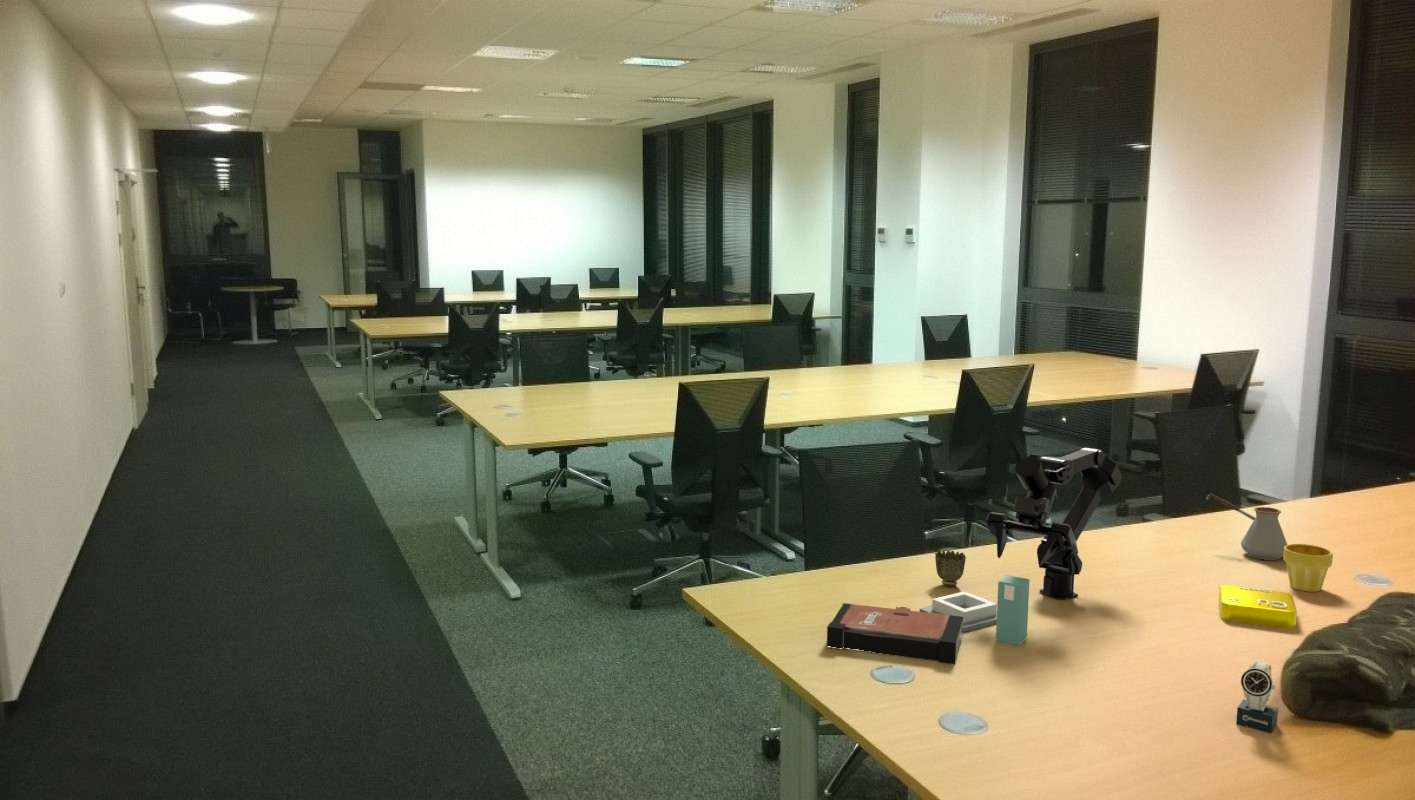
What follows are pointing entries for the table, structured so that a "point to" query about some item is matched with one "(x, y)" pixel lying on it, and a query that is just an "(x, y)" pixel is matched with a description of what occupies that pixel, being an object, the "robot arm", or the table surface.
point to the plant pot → (1307, 566)
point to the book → (897, 632)
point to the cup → (950, 567)
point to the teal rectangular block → (1012, 609)
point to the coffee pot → (1261, 533)
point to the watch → (1257, 699)
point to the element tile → (1257, 606)
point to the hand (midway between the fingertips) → (1018, 560)
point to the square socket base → (965, 609)
